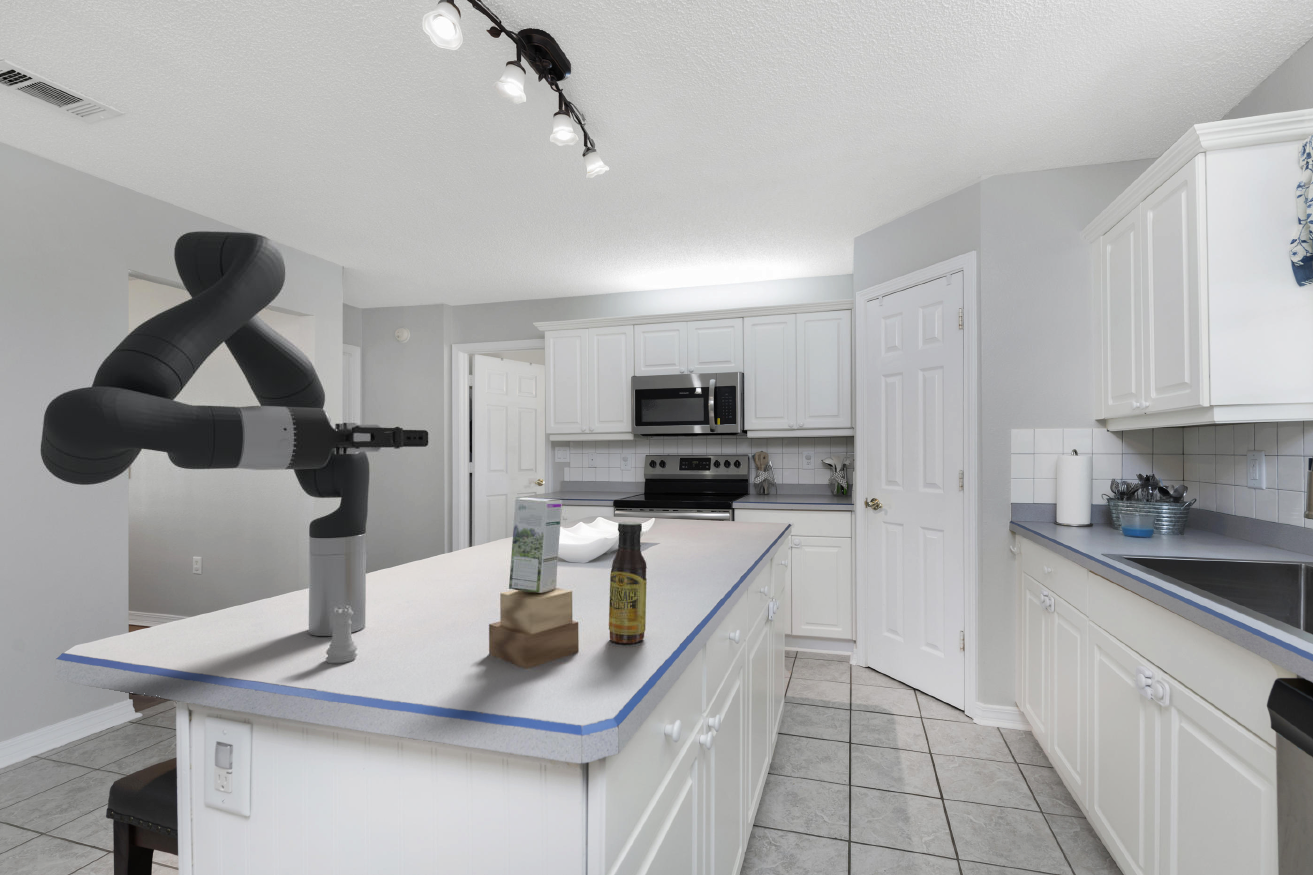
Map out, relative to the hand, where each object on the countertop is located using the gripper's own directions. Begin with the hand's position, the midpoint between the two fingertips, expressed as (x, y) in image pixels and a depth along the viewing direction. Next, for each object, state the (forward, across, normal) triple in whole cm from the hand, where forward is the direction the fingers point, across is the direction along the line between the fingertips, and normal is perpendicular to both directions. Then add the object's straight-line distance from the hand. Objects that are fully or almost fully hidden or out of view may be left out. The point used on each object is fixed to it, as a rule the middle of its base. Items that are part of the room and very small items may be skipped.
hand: (412, 439), depth 84 cm
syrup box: (+19, -1, +24) cm, 31 cm away
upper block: (+19, -2, +29) cm, 35 cm away
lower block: (+19, -2, +34) cm, 39 cm away
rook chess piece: (-2, +19, +34) cm, 39 cm away
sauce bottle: (+34, -8, +34) cm, 49 cm away
